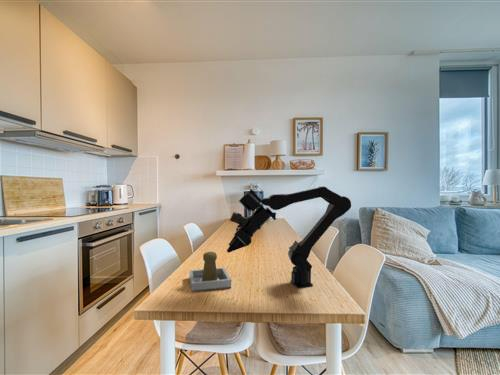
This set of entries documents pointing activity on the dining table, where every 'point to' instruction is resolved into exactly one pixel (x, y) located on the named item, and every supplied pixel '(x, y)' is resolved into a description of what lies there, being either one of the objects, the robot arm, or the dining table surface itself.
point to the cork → (209, 267)
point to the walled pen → (201, 285)
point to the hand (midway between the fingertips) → (228, 248)
